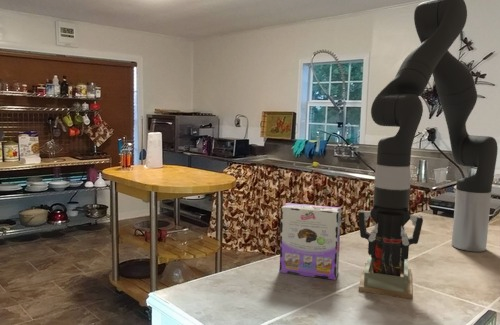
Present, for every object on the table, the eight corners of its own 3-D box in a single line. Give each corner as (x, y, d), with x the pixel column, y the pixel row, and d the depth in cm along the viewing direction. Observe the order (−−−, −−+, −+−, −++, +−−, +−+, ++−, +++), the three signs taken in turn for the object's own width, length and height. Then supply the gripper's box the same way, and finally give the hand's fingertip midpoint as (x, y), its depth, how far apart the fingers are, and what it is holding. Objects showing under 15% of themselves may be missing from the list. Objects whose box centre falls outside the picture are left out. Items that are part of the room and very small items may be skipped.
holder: (364, 266, 109) (365, 251, 109) (410, 273, 106) (411, 257, 105) (358, 290, 94) (359, 273, 94) (411, 299, 91) (413, 280, 90)
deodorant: (402, 283, 94) (406, 216, 92) (373, 280, 95) (377, 214, 93) (398, 273, 100) (402, 210, 98) (371, 271, 101) (375, 208, 99)
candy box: (338, 272, 105) (342, 206, 103) (335, 281, 100) (338, 211, 98) (284, 264, 110) (286, 201, 108) (278, 272, 104) (280, 206, 102)
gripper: (426, 185, 96) (421, 257, 98) (360, 180, 101) (356, 249, 103) (427, 190, 89) (422, 268, 91) (356, 185, 94) (353, 259, 96)
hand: (387, 258), depth 97 cm, fingers closed on deodorant, 6 cm apart
